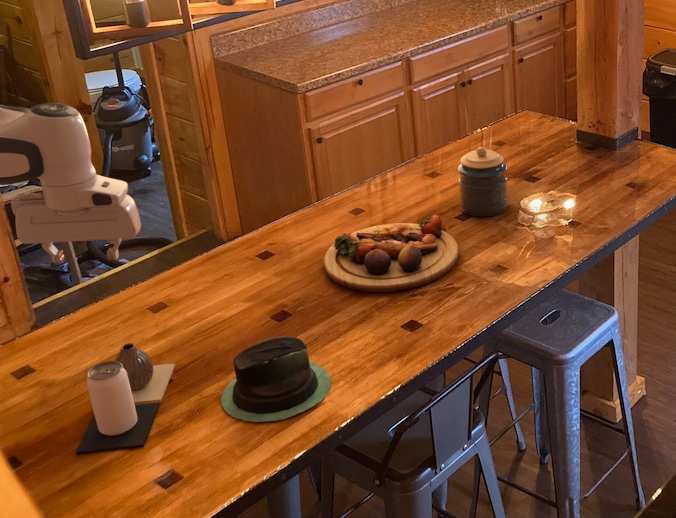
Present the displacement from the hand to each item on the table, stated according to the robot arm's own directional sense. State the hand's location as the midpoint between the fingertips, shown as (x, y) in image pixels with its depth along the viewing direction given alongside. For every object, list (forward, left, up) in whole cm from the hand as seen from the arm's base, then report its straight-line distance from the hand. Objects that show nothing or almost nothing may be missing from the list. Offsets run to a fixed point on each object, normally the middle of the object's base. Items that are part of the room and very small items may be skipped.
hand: (86, 259), depth 176 cm
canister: (+77, +65, -26) cm, 104 cm away
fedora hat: (+32, -10, -26) cm, 42 cm away
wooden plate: (+53, +39, -26) cm, 71 cm away
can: (+5, -17, -26) cm, 31 cm away
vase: (+5, -4, -26) cm, 27 cm away
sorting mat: (+5, -11, -26) cm, 29 cm away
